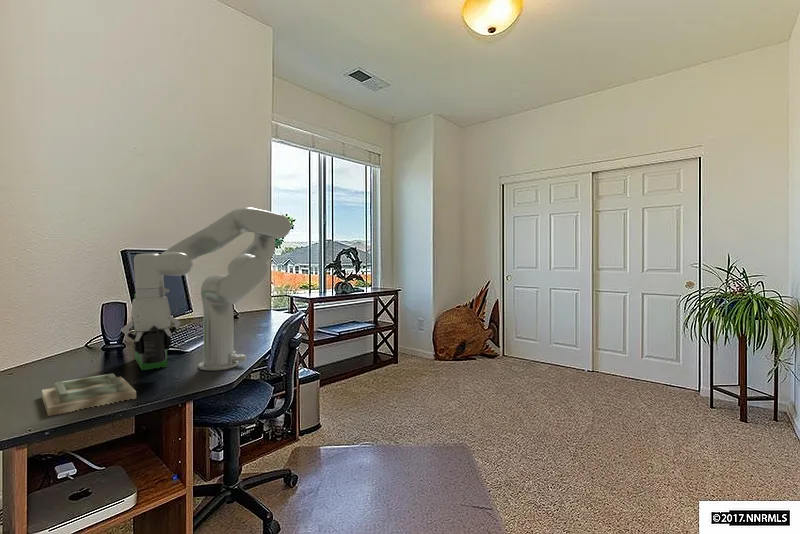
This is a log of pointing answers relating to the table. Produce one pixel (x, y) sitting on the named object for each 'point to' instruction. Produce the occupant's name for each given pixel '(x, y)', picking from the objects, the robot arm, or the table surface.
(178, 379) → the table surface
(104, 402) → the socket board
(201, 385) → the table surface
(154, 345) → the supplement bottle
